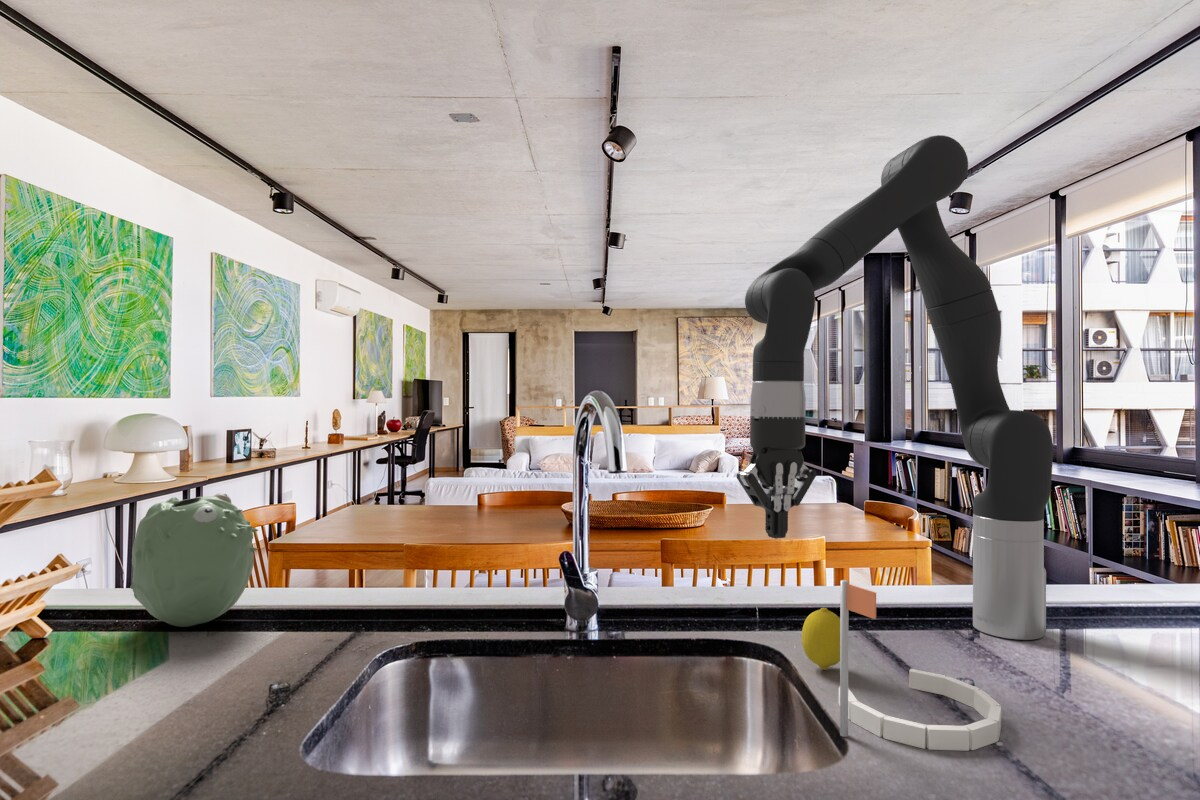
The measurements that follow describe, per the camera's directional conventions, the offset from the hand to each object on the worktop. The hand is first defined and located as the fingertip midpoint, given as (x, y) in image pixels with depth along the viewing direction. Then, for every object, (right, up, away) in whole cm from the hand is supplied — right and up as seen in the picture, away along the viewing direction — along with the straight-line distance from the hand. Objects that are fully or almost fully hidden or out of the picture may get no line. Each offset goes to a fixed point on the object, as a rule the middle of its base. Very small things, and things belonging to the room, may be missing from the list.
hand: (776, 537), depth 98 cm
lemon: (+4, -16, -8) cm, 18 cm away
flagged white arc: (+9, -16, -22) cm, 29 cm away
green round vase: (-88, -16, +10) cm, 90 cm away
